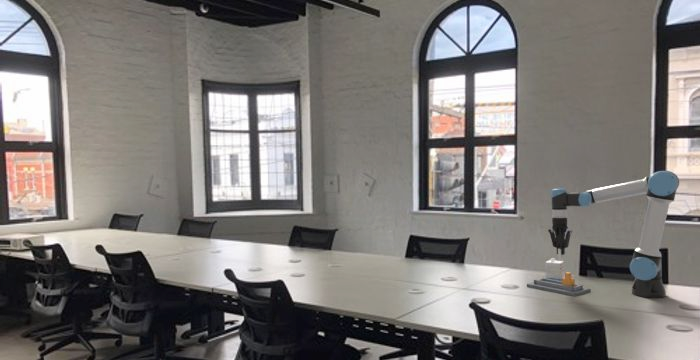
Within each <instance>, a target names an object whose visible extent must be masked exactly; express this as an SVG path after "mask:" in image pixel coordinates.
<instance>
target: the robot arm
mask: <svg viewBox="0 0 700 360" xmlns="http://www.w3.org/2000/svg"><path fill="white" fill-rule="evenodd" d="M679 186H680V179H679V177H678V176H677V174H676V173H674V172H673V171H669V170H659V171H655V172H654V173H652V174H651V175H647V176H645V177H644V178H642V179H636V180H631V181H627V182H624V183H623V182H622V183H617V184H613V185H608V186H603V187H598V188H593V189H588V190H582V191H578V192H577V191H575V192H574V191H573V192H569V191H567V189H566V188H553V189H551V197H550V198H551V216H552V219H551V220H552V222H551V224H552V227H550V228H549V229H548V231H547V232H548V233H549V236H550V239H551V243H552V244H551V245H552V247H553V248H556V255H558V256H557V259H558V260H557V261H564V255H565V253H566V251H565V249H566V248H568V247H569V245H570V240H571V239H570V238H571V235H572V233H573V230H570V229H569V227H568V209H567V208H568V207H583V208H585V207H591V205H592V204H598V203H602V202H608V201H612V200H619V199H623V198H629V197H630V198H631V197H634V196H635V197H636V196H640V195H646V198H647V199H648V203H647V209H646V213H645V216H644V222H643V226H642V230H641V235H640V239H639V244H638V247H636V248H635V249H634V250H633V251H634V252H633V255H632V259H631V262H629V271H630V273H631V275H632V276H633V277H634V278H635V279H634V280H633V281H634V282H633V284H632V286H631V294H633V295H635V296H638V297H643V298H654V299H659V298H665V297H666V296H667V291H666V289H665V286H664V284H663V283H664V282H663V279H662V278H663V277H662V275H663V274H662V271H663V270H662V258H663V255H662V252H661V251H660V248H661V242H662V238H663V235H664V229H665V226H666V220H667V216H668V211H669V207H670V204H671V203H673V202H674V201H675V198H676V193H677V189H678V188H679Z"/></svg>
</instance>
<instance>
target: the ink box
mask: <svg viewBox="0 0 700 360" xmlns="http://www.w3.org/2000/svg"><path fill="white" fill-rule="evenodd" d="M544 262H545V265H544V267H545V274H544V275H545V277H544V278H546V279H552V280H557V281H562V278H564V277H565V268H564V267H565V266H564V265H565V261H564V260H563V261H558V260H557V259H556V258H555V257H552V258H550V259H548V260H547V261H544Z"/></svg>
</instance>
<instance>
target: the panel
mask: <svg viewBox="0 0 700 360" xmlns="http://www.w3.org/2000/svg"><path fill="white" fill-rule="evenodd" d="M526 287H527V288H532V289H537V290H543V291H547V292H552V293H556V294H561V295H567V296H571V297H577V296H579V295H583V294H586V293H589V292H591V291H592V290H591V288H589V287H585V286H584V285H583V284H578V283H575V286H574V287H572V286H567V285H562V281H557V280H552V279H546V278H545V277H541V278H538V279H537V278H536V279H533V282H529V283H526Z"/></svg>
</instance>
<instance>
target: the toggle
mask: <svg viewBox="0 0 700 360" xmlns="http://www.w3.org/2000/svg"><path fill="white" fill-rule="evenodd" d="M575 281H576V280H575V278H572V272H569V271H568V272H567V271H566V272H564V278H562V285H567V286H572V287H574V286H575V284H576V282H575Z"/></svg>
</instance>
